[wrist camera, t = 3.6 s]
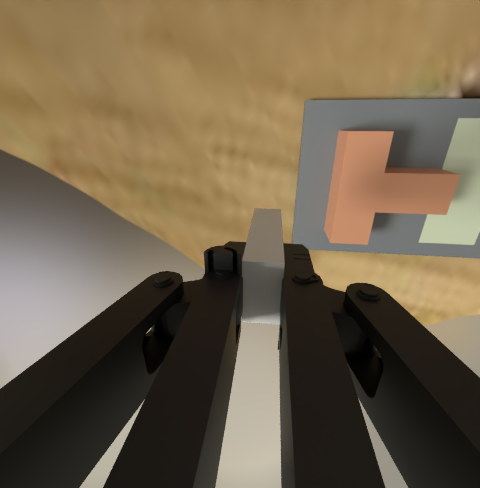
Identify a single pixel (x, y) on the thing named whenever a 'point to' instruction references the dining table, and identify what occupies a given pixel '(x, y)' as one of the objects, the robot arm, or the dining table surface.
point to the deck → (400, 155)
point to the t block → (378, 187)
